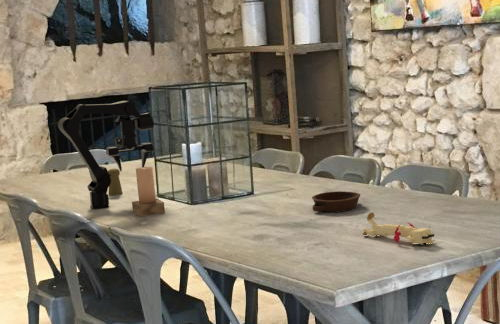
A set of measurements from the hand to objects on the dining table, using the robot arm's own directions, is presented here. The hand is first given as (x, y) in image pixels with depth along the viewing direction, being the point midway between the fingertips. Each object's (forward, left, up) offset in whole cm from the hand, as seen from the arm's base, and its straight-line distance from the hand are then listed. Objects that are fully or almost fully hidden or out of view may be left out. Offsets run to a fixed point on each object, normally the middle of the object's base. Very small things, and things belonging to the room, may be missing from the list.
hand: (131, 169), depth 358 cm
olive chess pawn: (-3, +22, -13) cm, 26 cm away
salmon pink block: (-1, -26, -9) cm, 27 cm away
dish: (+59, -66, -14) cm, 90 cm away
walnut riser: (-1, -26, -13) cm, 29 cm away
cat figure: (+53, -120, -14) cm, 132 cm away
